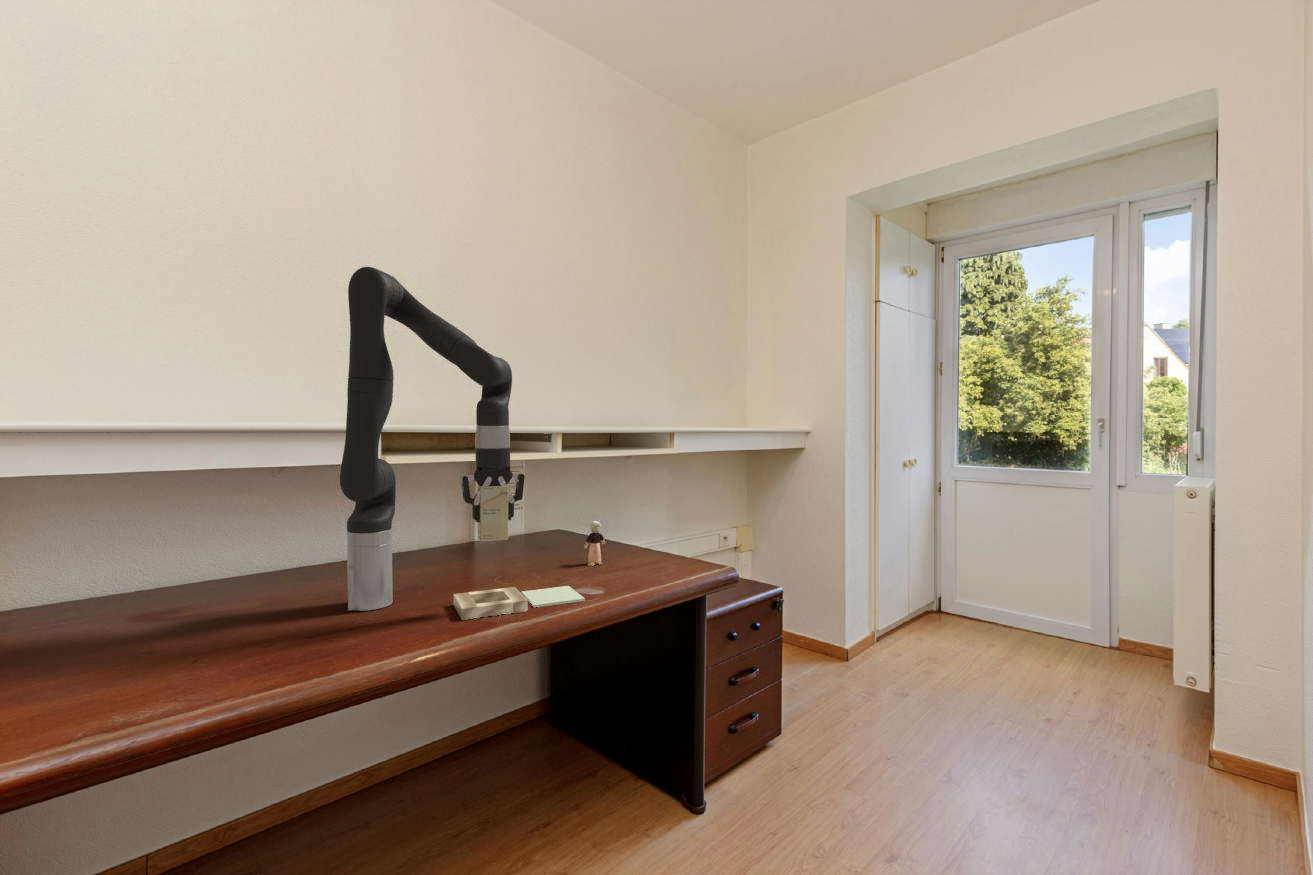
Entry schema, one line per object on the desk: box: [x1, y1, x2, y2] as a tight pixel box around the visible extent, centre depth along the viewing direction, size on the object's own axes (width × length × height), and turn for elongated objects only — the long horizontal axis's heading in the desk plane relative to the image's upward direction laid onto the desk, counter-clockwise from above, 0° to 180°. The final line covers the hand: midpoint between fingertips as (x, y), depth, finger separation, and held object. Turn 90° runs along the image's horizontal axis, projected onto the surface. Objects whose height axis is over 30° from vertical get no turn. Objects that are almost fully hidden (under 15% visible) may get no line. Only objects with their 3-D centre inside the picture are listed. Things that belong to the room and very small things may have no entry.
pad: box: [520, 585, 586, 609], centre depth 148 cm, size 12×12×1 cm
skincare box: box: [477, 484, 509, 542], centre depth 139 cm, size 6×4×12 cm
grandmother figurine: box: [583, 520, 606, 567], centre depth 181 cm, size 8×4×13 cm, turn 148°
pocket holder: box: [453, 586, 529, 621], centre depth 140 cm, size 14×12×2 cm
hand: (493, 520), depth 139 cm, fingers closed on skincare box, 6 cm apart
